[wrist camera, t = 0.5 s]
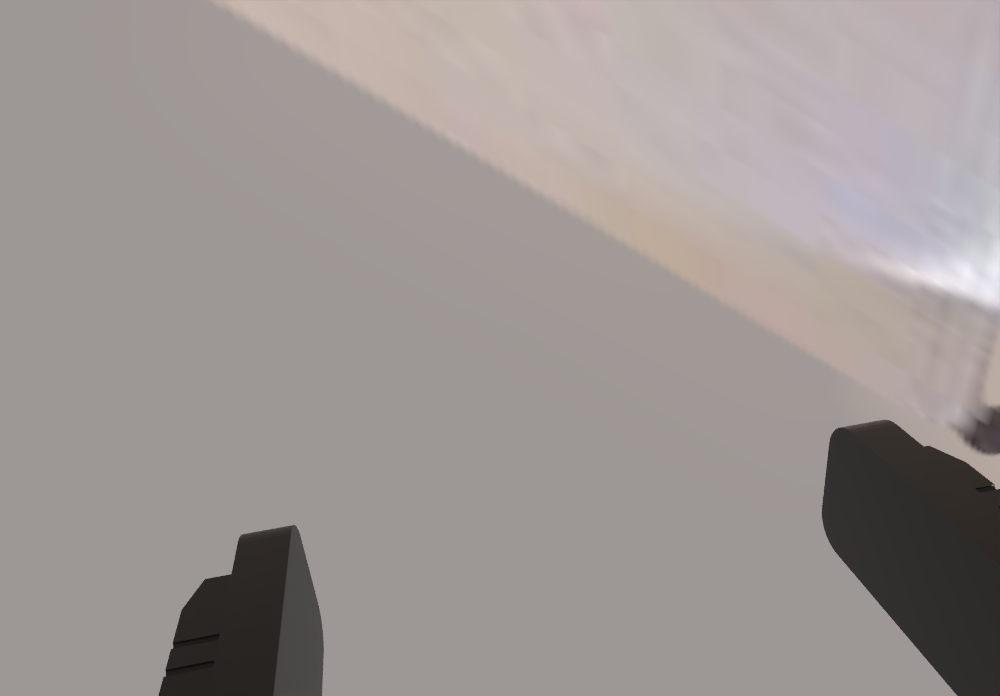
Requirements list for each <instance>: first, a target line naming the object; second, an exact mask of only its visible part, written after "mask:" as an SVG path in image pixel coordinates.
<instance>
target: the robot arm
mask: <svg viewBox="0 0 1000 696" xmlns="http://www.w3.org/2000/svg"><path fill="white" fill-rule="evenodd" d="M822 519H823V525H824V529H825V532H826V535H827V538H828V540H829V542H830V544H831V546H832V547H833V549H834V550H835V552H836V553H837V554H838V555H839V557H840V558H841V559H842V560H843V561H844V563H845V564H846V565H847V566H848V567H849V568H850V570H851V571H852V572H853V573H854V574H855V576H856V577H857V578H858V579H859V580H860V581H861V583H862V584H863V585H864V586H865V587H866V588H867V590H868V591H869V592H870V593H871V594H872V595H873V597H874V598H875V599H876V600H877V601H878V602H879V604H880V605H881V606H882V607H883V609H884V610H885V611H886V612H887V613H888V614H889V615H890V617H891V618H892V619H893V620H894V621H895V623H896V624H897V625H898V626H899V627H900V629H901V630H902V631H903V632H904V633H905V634H906V636H907V637H908V638H909V639H910V640H911V641H912V642H913V644H914V645H915V646H916V647H917V649H918V650H919V651H920V652H921V653H922V654H923V656H924V657H925V658H926V659H927V660H928V662H930V664H931V665H932V666H933V667H934V669H935V670H936V671H937V672H938V673H939V675H940V676H941V677H942V678H943V679H944V680H945V682H946V683H947V684H948V685H949V686H950V687H951V689H952V690H953V691H954V692H955V693H956V694H957V695H958V696H1000V489H998V490H996V489H995V487H994V484H993V483H992V482H990V481H989V480H988V479H986V478H985V477H984V476H983V475H982V474H980V473H979V472H978V471H976V470H975V469H974V468H973V467H971V466H970V465H969V464H967V463H966V462H964V461H962V460H959V459H957V458H955V457H953V456H951V455H948V454H946V453H944V452H942V451H940V450H937V449H935V448H933V447H930V446H926V447H923V446H922V445H921V444H920V443H919V442H917V441H916V440H915V439H914V438H912V437H911V436H910V435H909V434H907V433H906V432H905V431H904V430H902V429H901V428H900V427H899V426H898V425H896V424H895V423H893V422H892V421H889V420H880V421H874V422H869V423H864V424H858V425H852V426H847V427H842V428H838V429H836V430H835V431H834V432H833V434H832V435H831V438H830V443H829V451H828V461H827V470H826V478H825V487H824V496H823V505H822ZM173 646H174V647H173V649H171V652H170V655H169V659H168V663H167V667H166V677H164V678H163V681H162V685H161V689H160V692H159V696H322V678H323V677H322V676H323V652H324V648H323V647H324V646H323V631H322V622H321V616H320V610H319V606H318V602H317V598H316V594H315V590H314V587H313V583H312V579H311V575H310V571H309V567H308V563H307V560H306V556H305V552H304V548H303V544H302V540H301V537H300V534H299V531H298V529H297V527H296V526H295V525H293V526H287V527H281V528H276V529H270V530H264V531H259V532H253V533H248V534H243V535H241V536H240V538H239V541H238V545H237V550H236V555H235V561H234V565H233V570H232V574H231V575H226V576H220V577H215V578H209V579H205V580H204V581H203V583H202V584H201V585H200V587H199V588H198V589H197V591H196V592H195V593H194V595H193V596H192V597H191V598H190V600H189V601H188V602H187V604H186V605H185V606H184V608H183V609H182V611H181V615H180V618H179V622H178V626H177V629H176V633H175V637H174V641H173Z"/></svg>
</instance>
